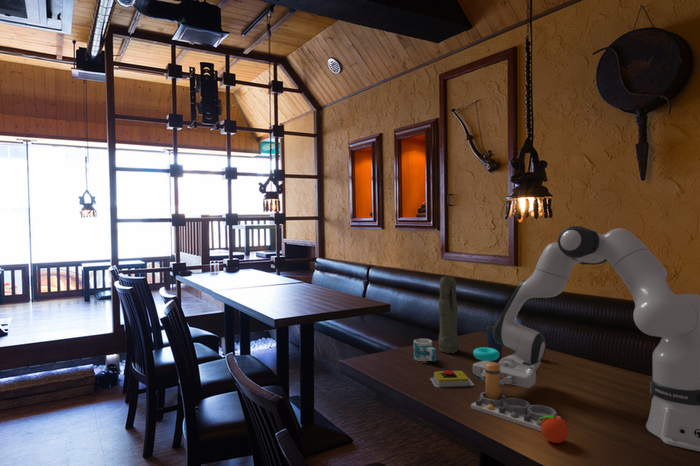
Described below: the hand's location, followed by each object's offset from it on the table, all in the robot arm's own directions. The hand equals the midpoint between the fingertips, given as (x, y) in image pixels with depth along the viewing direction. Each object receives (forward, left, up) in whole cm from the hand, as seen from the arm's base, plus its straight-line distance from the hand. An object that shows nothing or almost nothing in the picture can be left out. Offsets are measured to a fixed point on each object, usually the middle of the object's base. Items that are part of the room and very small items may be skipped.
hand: (491, 379), depth 143 cm
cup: (+21, -41, -9) cm, 47 cm away
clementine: (-23, +9, -9) cm, 27 cm away
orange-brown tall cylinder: (0, -1, -7) cm, 7 cm away
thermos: (+45, -42, -9) cm, 62 cm away
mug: (+44, -23, -9) cm, 51 cm away
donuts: (+16, -25, -9) cm, 31 cm away
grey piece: (-8, +1, -9) cm, 12 cm away
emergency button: (+22, -10, -9) cm, 25 cm away
